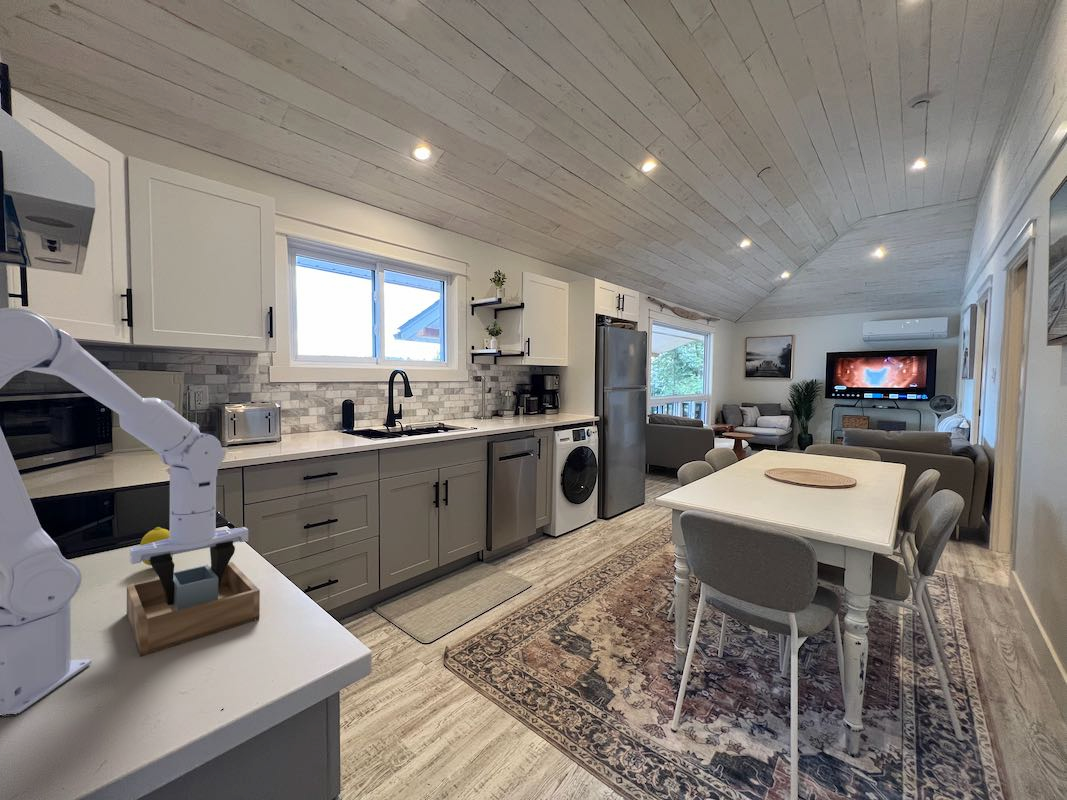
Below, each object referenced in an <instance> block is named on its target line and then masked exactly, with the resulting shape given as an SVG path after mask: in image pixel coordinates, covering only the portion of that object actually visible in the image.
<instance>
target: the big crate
mask: <svg viewBox="0 0 1067 800" xmlns="http://www.w3.org/2000/svg"><path fill="white" fill-rule="evenodd" d="M209 567H210V568H211V565H210V566H209ZM260 593H261V590H260V589H259V588H258V587H257V585H255V584H254V583H253V581H251V580H250V578H248V576H247V575H246V574H245V573H244V572H243V571H241V569H240V568H239V567H238V566H237V565H236V564H235V563H234V562H233V561H229V563H228V564H227V567H226V569H225V571H224V574H223V576H222V579H221V583H220V587H219V592H218V599H217V600H214V601H210V602H206V603H203V604H199V605H195V606H192V607H188V608H184V609H181V610H177V611H173V612H172V610H171V608H170V606H169V605H167V603H166V598H165V593H164V589H163V586H162V583H161V581H160V579H159V577H158V578H153V579H149V580H144V581H139V582H136V583H135V582H134V583H130V584H127V585H126V616H127V619H128V623H129V625H130V629H131V632H132V635H134V636H133V638H134V641H135V644H136V645H135V646H136V648H137V651H138V654H139V657H143V656H146V655H150V654H152V653H153V654H154V653H155V652H159V651H162V650H166V649H169V648H172V647H174V646H178V645H181V644H184V643H187V642H191V641H193V640H194V641H195V640H196V639H200V638H203V637H205V636H207V637H208V636H209V635H213V634H215V633H216V634H217V633H218V632H223V631H225V630H229V629H232V628H235V627H238V626H241V625H244V624H247V622H248V623H251V622H253V620H254V621H256V620H255V619H257V620H260V619H259V618H260V616H261V615H260V613H261V612H260V609H261V607H260V606H261V605H260V595H261V594H260ZM250 621H251V622H250Z"/></svg>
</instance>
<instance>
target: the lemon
mask: <svg viewBox="0 0 1067 800" xmlns="http://www.w3.org/2000/svg"><path fill="white" fill-rule="evenodd" d="M169 538H170V529H169V530H168V529H166V528H162V527H160V526H157V527H155V528H153V529H152V530H149V531H148V532H147V533H146V534H145V535H144V536H143V537H142V539H141V541H140V544H139V546H141V545H145V544H149V543H153V542H157V541H161V540H165V539H169ZM173 556H174V555H171V557H172V558H173ZM142 562H143V563H144V564H145V565H148V566H151V567H152V565H151V564H150V562H149V560H144V561H142Z"/></svg>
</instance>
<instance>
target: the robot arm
mask: <svg viewBox="0 0 1067 800" xmlns="http://www.w3.org/2000/svg"><path fill="white" fill-rule="evenodd" d="M24 371H28V372H34V373H39V374H40V373H41V374H46V375H51V376H52V375H53V376H56V377H59V378H61V379H63V380H64V381H65V382H67V383H69V384H70V385H72V386H74V387H75V388H76V389H78V390H80V391H81V392H83V393H84V394H87V395H88V396H89V397H91V398H93V399H94V400H96V401H97V402H99V403H100V404H102V405H104V406H105V407H107V408H109V409H110V410H111V411H113V412H115V413H116V414H118V417H119V426H120V428H121V429H122V430H123V431H125V432H126V433H128V434H129V435H131V436H132V437H134V438H135V439H136V440H138V441H139V442H141V443H142V444H144V445H145V446H146V447H148V448H149V449H151V450H153V451H154V452H156V453H158V454H159V457H160V460H161V462H162V463H163V464H164V465H165V466H166V465H168V466H169V531H170V538H169V539H165V540H161V541H157V542H153V543H149V544H145V545H141V546H140V545H137V546H133V547H130V548H129V561H130V564H131V565H135V564H140V563H142V562H143V561H144V560H149V562H150V564H151V565H152V566H151V565H150V566H151V568H153V570H154V572H155V573H156V575H157V577H158V578H159V579H160V581H161V583H162V586H163V589H164V593H165V598H166V603H167V605H172V604H174V589H173V575H174V572H175V563H174V560H173V556H174V555H178V554H183V553H188V552H193V551H198V550H202V549H208V548H209V552H210V553H209V554H210V555H209V556H210V566H211V569H212V570H213V572H214V573H215V574H216V575H217V576H218V592H219V587H220V583H221V579H222V576H223V574H224V571H225V569H226V567H227V564H228V563H229V562H231V559H232V558H233V555H234V553H235V551H236V547H235V545H234V543H238V542H239V543H245V542H248V541H249V529H248V528H247V527H245V526H243V527H242V526H241V527H237V528H235V527H234V528H228V529H227V528H226V529H218V530H217V527H216V524H217V523H216V522H217V521H216V520H217V519H216V518H217V515H216V514H217V513H216V512H217V511H216V508H217V499H216V498H217V477H218V470H219V467H220V465H221V464H222V462H223V461H224V459H225V456H226V452H227V451H226V449H224V448H223V446H222V443H221V441H220V440H219V439H218V438H217V436H214V435H213V434H210V433H201V431H200V425H199V424H198V423H196V422H190V421H188V419H186V418H185V417H183V416H182V415H181V414H179V412H177V411H176V410H174V408H175V407H176V405H175V404H174V403H173V402H172V401H170V400H166V399H164V400H163V399H160V398H158V397H142V396H141V395H140V394H138V392H136V391H135V390H134V389H133V388H132V387H130V386H129V385H128V384H127V383H125V382H124V381H123V380H121V378H119V377H118V376H117V375H116V374H115V373H113V372H112V371H111V370H109V369H108V367H106V366H105V365H104V364H102V362H100V361H99V360H98V359H97V358H96V357H94V356H93V355H91V354H90V353H89V352H88V351H87V350H86V349H84V348H83V347H82V346H81V345H80V344H79V343H78V341H76V339H74V338H73V337H72V336H71V334H69V333H67V332H65V331H64V330H62V329H61V328H56V327H54V325H53V324H52V323H51V322H50V321H49V320H48V319H47V318H45V317H44V316H42V314H41V315H40V314H38V312H35V311H32V310H29V309H25V308H20V307H2V308H0V390H1V388H3V387H4V386H5V385H6V384H7V383H8V382H9V381H10V380H11V379H12V378H13V377H15V376H16V375H18V374H20V373H23V372H24ZM62 554H63V553H61V551H60V547H59V546H58V544H57V543H56V542H55V541H54V540H53V538H51V536H50V535H49V534H48V533H47V532H46V531H45V530H44V529H43V528H42V525H41V524H40V521H39V519H38V516H37V514H36V510H35V508H34V506H33V503H32V501H31V499H30V496H29V494H28V491H27V489H26V487H25V484H24V482H23V479H22V477H21V474H20V472H19V469H18V466H17V464H16V462H15V459H14V457H13V454H12V452H11V450H10V448H9V445H8V441H7V440H6V438H5V435H4V432H3V430H2V427H1V426H0V714H15V715H17V713H18V714H20V713H22V712H23V711H24V710H25V709H27V708H29V707H30V706H32V705H33V704H34V703H36V702H37V701H39V700H40V699H42V698H43V697H44V696H46V695H48V694H49V693H51V692H52V691H53V690H55V689H56V688H58V687H59V686H60V685H62V684H64V683H65V682H67V680H70V679H71V678H73V676H75V675H76V674H78V673H80V672H81V671H82V670H84V669H85V668H86V667H88V666H90V665H91V664H92V659H90V658H86V659H85V658H83V659H72V657H71V656H72V653H71V652H72V631H71V629H72V628H71V627H72V626H71V625H72V618H71V617H72V615H71V614H72V608H71V607H72V605H71V604H72V603H71V602H72V599H73V598H74V597H75V596H76V594H77V592H79V589H80V587H81V583H82V577H83V576H82V573H81V569H80V568H79V566H78V565H76V563H74V562H72V561H70V560H69V559H66V557H64V556H63V555H62ZM171 555H173V556H172V557H171Z"/></svg>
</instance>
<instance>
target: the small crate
mask: <svg viewBox="0 0 1067 800" xmlns="http://www.w3.org/2000/svg"><path fill="white" fill-rule="evenodd" d="M173 589H174V604H172V605H169V606H170V608H171V610H172V612H173V611H177V610H181V609H184V608H188V607H192V606H195V605H199V604H203V603H206V602H210V601H214V600H217V599H218V576H217V575H216V574H215V573H214V572H213V570H212V569H211V568H210V566H209V565H208V564H205V565H199V566H195V567H191V568H187V569H181V570H179V571H178V570H177V571H174V575H173Z"/></svg>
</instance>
